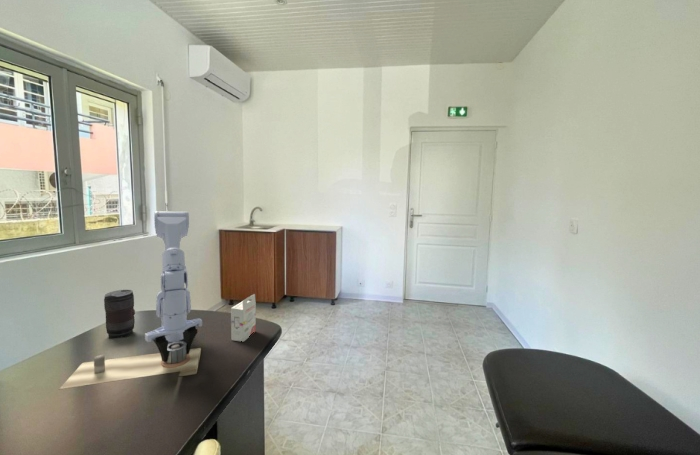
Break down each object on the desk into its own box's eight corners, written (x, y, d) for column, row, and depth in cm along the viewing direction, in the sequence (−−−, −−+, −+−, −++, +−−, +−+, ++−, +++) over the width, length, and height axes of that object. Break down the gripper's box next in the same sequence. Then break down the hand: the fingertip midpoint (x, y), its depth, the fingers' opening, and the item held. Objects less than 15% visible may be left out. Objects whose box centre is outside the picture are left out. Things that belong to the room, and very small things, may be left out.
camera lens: (118, 328, 108) (116, 288, 106) (140, 329, 108) (139, 289, 106) (99, 339, 100) (97, 296, 98) (123, 340, 100) (121, 297, 98)
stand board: (82, 367, 84) (81, 347, 84) (200, 352, 95) (200, 334, 95) (59, 394, 73) (58, 372, 73) (196, 373, 84) (196, 353, 83)
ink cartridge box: (243, 329, 112) (244, 291, 110) (255, 331, 111) (256, 293, 109) (230, 340, 104) (230, 299, 102) (243, 342, 103) (243, 301, 101)
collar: (162, 359, 87) (161, 346, 86) (182, 352, 91) (181, 339, 91) (169, 366, 83) (169, 352, 83) (189, 358, 88) (189, 345, 87)
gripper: (151, 323, 78) (152, 372, 79) (206, 308, 89) (207, 352, 90) (141, 315, 82) (143, 362, 83) (196, 302, 93) (196, 343, 95)
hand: (175, 356), depth 87 cm, fingers closed on collar, 5 cm apart
